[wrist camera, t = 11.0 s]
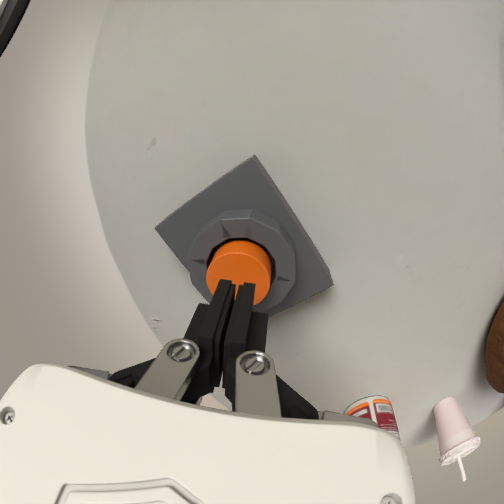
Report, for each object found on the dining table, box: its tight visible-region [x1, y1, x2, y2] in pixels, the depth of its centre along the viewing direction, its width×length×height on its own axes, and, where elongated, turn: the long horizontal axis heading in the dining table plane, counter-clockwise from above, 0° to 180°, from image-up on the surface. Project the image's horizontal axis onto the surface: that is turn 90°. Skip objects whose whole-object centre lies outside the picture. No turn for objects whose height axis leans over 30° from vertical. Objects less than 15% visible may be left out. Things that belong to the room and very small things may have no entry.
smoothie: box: [433, 396, 481, 482], centre depth 21 cm, size 6×6×14 cm
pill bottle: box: [344, 396, 401, 442], centre depth 23 cm, size 6×6×11 cm
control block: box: [155, 155, 333, 317], centre depth 18 cm, size 10×8×4 cm
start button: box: [206, 240, 271, 305], centre depth 16 cm, size 4×4×2 cm
